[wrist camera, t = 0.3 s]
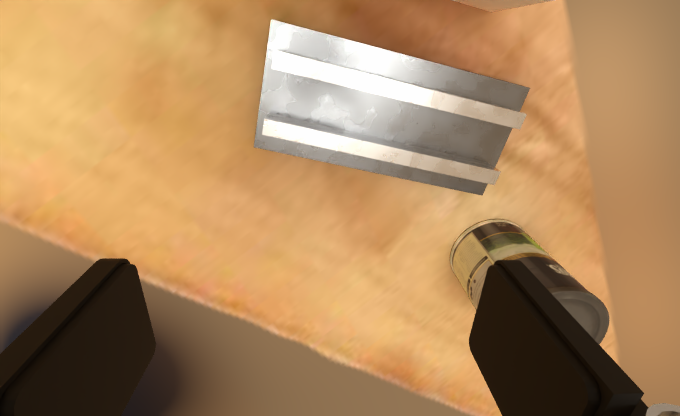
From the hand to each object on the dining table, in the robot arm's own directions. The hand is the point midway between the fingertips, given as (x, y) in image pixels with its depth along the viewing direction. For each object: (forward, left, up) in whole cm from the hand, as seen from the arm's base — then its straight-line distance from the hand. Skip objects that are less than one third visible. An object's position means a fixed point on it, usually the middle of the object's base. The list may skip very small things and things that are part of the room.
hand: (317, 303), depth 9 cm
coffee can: (+13, +25, -30) cm, 41 cm away
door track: (-1, +7, -30) cm, 30 cm away
